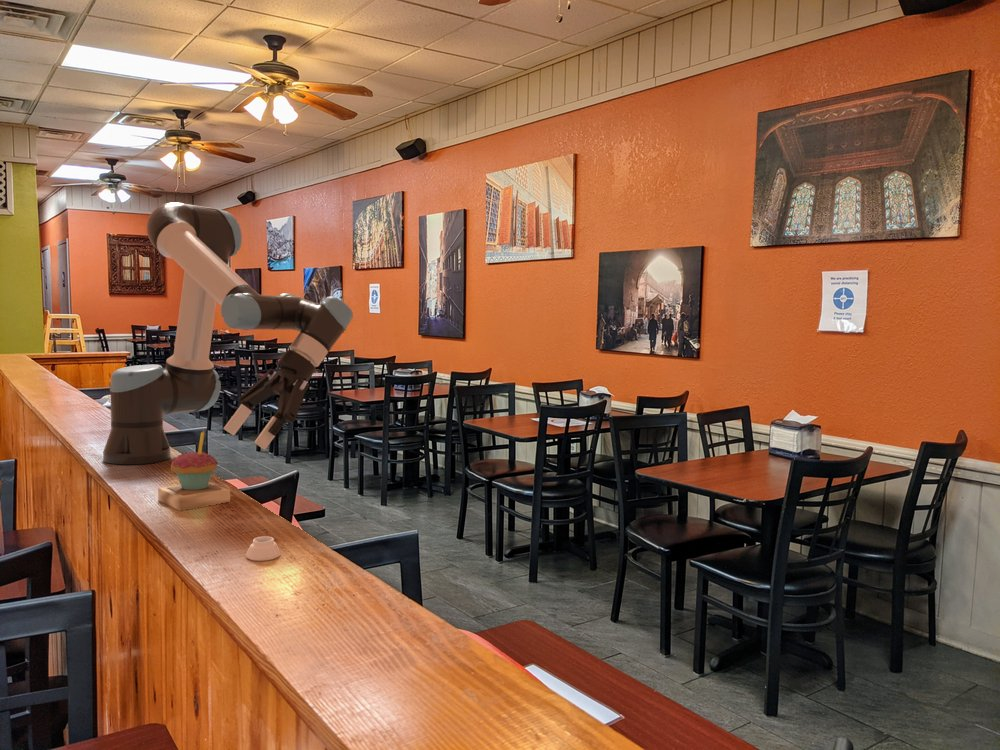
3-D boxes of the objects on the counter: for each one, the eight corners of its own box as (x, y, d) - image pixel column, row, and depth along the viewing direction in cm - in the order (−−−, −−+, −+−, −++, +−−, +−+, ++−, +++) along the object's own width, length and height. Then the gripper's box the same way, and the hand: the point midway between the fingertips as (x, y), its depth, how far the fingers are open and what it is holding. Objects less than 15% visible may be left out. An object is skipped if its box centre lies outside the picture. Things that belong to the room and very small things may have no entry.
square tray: (158, 500, 144) (158, 487, 144) (207, 492, 151) (207, 480, 151) (179, 510, 137) (179, 496, 137) (230, 502, 144) (230, 488, 144)
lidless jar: (253, 551, 116) (241, 562, 111) (253, 533, 116) (241, 543, 111) (284, 553, 116) (274, 563, 111) (284, 535, 116) (274, 544, 111)
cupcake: (224, 483, 148) (225, 425, 147) (203, 493, 140) (203, 432, 139) (184, 481, 149) (184, 423, 148) (161, 491, 141) (161, 430, 140)
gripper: (345, 377, 153) (286, 462, 146) (284, 360, 170) (229, 435, 163) (322, 356, 148) (260, 443, 141) (262, 341, 165) (203, 417, 158)
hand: (243, 439), depth 152 cm, fingers open, 13 cm apart
